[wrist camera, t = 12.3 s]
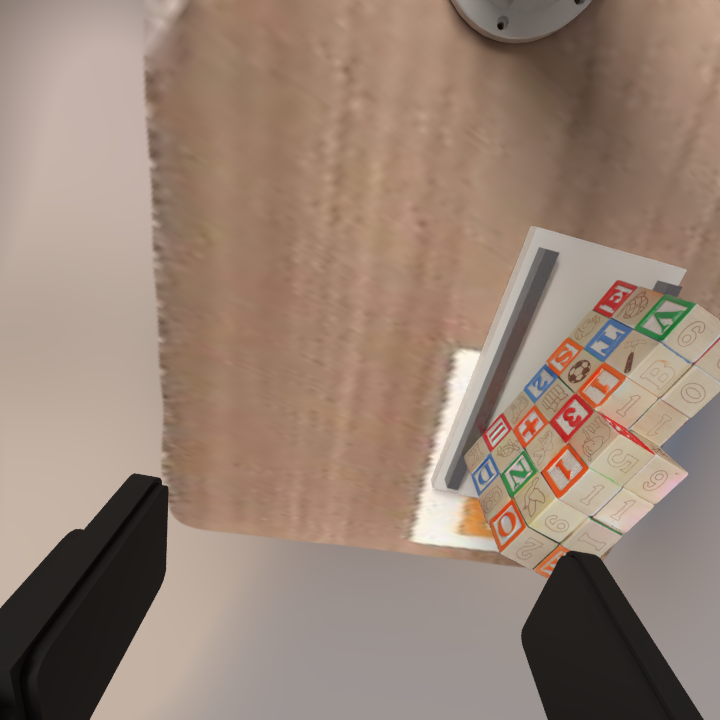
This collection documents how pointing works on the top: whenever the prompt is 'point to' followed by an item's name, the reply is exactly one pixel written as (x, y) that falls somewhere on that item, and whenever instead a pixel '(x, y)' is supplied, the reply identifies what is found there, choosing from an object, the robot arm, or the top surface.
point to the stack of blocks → (596, 428)
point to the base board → (538, 330)
